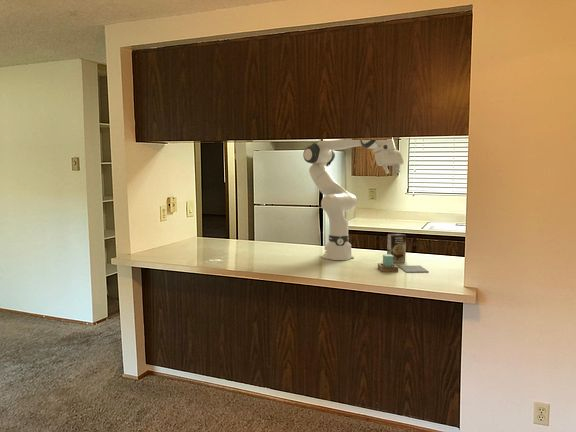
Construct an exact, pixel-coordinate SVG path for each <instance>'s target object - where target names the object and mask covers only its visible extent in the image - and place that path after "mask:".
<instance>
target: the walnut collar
mask: <svg viewBox="0 0 576 432" xmlns="http://www.w3.org/2000/svg"><path fill="white" fill-rule="evenodd" d="M377 269H378V270H379V271H380V272H381V273H389V272H388V271H392V272H393V273H396V272H397V273H398V272H399V265H398V266H397V264H396V263H393V267H383V262H382V263H377Z"/></svg>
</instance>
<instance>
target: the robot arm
mask: <svg viewBox="0 0 576 432" xmlns="http://www.w3.org/2000/svg"><path fill="white" fill-rule="evenodd" d="M395 145H396V144H395V141H394V139H393V138H392V139H387V140H341V141H319V140H318V142H314V143H312V144H310V145H309V146H307V147H306V148H304V150H303V155H302V156H303V159H304V161H305V162H306V163H308V164H311V165H310V167H309V168H308V169H309V170H308V173H309V175H310V177H311V179H312V181H313V183H314V185H315V186H316V188H317V189H318V190H319V191H320V193H321V194H322V195H324V196H323V197H322V199H321V201H320V204H321V208H322V210H323V211H324V212H325V213H326V215H327V219H328V222H329V234H328V242H327V244H326V245H324V250H325V251H324V253H323V255H322V259H327V260H333V261H348V260H351V259H354V258H355V255H353V254H352V244H351V243H350V242H349V240H350V235H349V221H348V220H347V219H346V218H345V215H344V212H348V211H352V210H354V209H355V208H356V206H357V203H358V199H357V197H356V195H355V194H353V193H351V192H349V191H347V190H346V189H345V188H344V187H342V186H341V185H340V184H339V183H338V182H337V181H336V180H335V178H334V177H333V175H332V174H331V173H330V171H329V170H328V168H327V167H329V166H330V165H331V163H333V161H334V160H335V157H336V151H341V150H345V149H351V148H355V147H362V148H364V149H369V150H372V152H373V154H374V160H375V164H376V165H377V166H378V167H382V168H383V170H384V172H385V174H387V175H388V174H391V171H390V169H388V167H390V166H392V167H393V166H394V167H395V169H396V170H395V173H396V174H400V173H401V170H400V169H401V165H404V158H403V155H402V153H401V151H400V150H398V148H396V146H395Z"/></svg>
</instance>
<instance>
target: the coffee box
mask: <svg viewBox="0 0 576 432" xmlns="http://www.w3.org/2000/svg"><path fill="white" fill-rule="evenodd" d="M386 247H387V248H386V255H388V254H391V255H393V263H394V264H397V263H398V264H399V263H406V253H407V252H406V250H407V235H406V234H404V233H388V234H387V246H386Z"/></svg>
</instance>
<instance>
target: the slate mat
mask: <svg viewBox="0 0 576 432" xmlns="http://www.w3.org/2000/svg"><path fill="white" fill-rule="evenodd" d="M398 268H400V269H401V270H402V271H404V272H405V273H407V274H410V273H411V274H412V273H413V274H414V273H415V274H416V273H418V274H419V273H421V274H423V273H427V274H428V273H429V271H428V270H427V269H426V268H425V267H423V266H421V265H398Z"/></svg>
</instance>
